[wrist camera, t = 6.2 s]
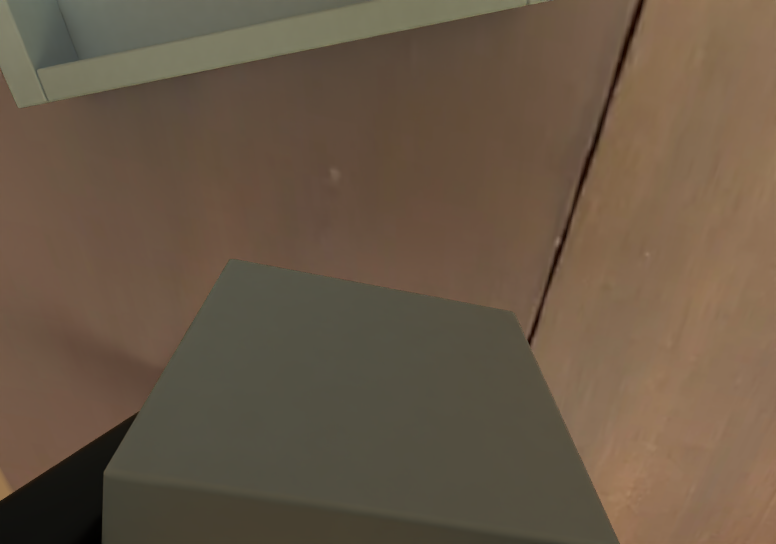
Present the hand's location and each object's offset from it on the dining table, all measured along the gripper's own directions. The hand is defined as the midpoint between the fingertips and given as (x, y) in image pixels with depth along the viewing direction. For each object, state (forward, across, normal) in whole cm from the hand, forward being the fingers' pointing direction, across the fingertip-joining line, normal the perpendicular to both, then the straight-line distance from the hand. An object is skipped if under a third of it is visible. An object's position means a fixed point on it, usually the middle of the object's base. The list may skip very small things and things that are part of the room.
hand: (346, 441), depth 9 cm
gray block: (+1, 0, 0) cm, 1 cm away
